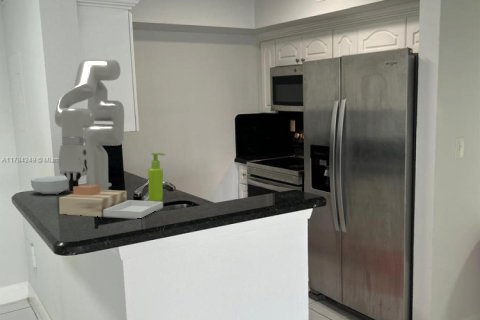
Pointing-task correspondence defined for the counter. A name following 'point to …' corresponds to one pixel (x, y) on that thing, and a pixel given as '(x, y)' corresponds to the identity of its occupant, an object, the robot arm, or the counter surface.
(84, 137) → the robot arm
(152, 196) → the soap dispenser
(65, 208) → the birch board
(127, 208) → the box
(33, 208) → the counter surface
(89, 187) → the terracotta tile
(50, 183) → the cereal bowl
